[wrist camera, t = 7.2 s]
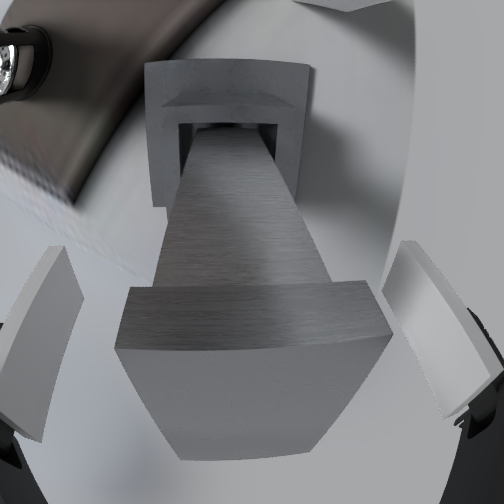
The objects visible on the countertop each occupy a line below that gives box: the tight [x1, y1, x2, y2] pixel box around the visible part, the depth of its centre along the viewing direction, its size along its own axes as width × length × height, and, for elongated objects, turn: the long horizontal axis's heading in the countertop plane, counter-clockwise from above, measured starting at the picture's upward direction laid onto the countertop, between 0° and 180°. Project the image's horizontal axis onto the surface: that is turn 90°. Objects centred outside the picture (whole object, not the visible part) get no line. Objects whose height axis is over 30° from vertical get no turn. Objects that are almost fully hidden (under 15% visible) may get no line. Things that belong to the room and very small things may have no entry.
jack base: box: [144, 59, 310, 221], centre depth 24 cm, size 16×16×12 cm
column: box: [114, 128, 393, 461], centre depth 14 cm, size 7×4×20 cm, turn 177°
